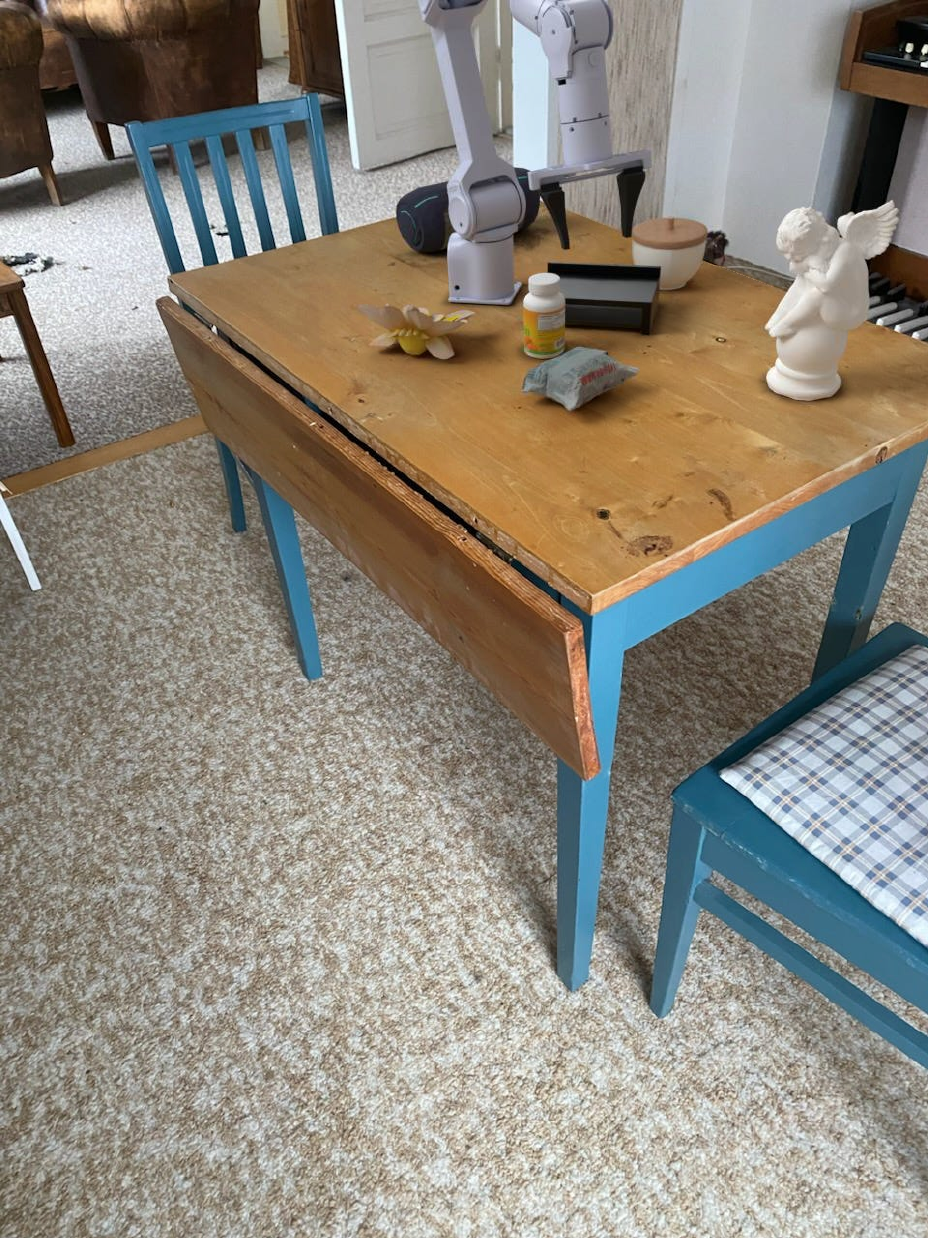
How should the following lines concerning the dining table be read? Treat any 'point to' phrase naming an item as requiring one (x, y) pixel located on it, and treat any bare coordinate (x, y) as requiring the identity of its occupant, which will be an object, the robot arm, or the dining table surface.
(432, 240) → the portable speaker
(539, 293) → the supplement bottle
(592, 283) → the black lipped tray
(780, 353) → the cherub figurine
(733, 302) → the dining table surface
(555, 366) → the packaged food
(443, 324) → the decorative flower
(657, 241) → the trinket box
